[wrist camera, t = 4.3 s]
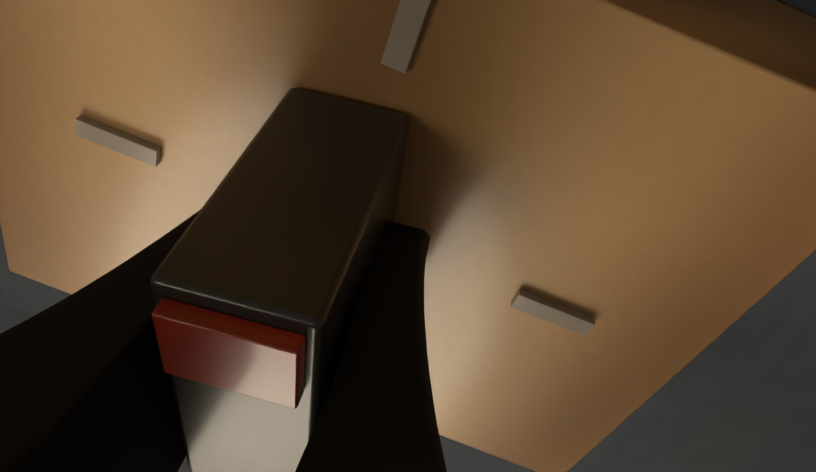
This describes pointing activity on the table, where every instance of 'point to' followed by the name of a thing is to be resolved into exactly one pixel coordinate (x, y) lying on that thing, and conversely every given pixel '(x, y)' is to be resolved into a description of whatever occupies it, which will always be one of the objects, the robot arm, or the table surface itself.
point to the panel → (453, 171)
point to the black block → (275, 280)
